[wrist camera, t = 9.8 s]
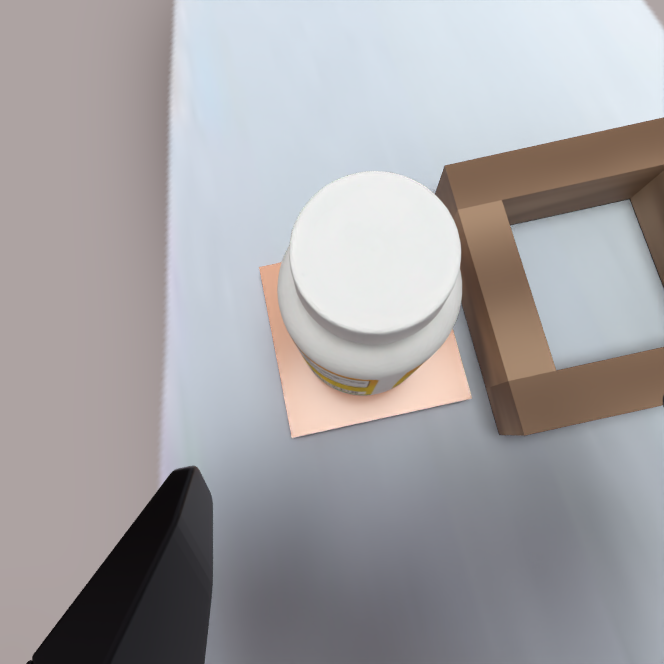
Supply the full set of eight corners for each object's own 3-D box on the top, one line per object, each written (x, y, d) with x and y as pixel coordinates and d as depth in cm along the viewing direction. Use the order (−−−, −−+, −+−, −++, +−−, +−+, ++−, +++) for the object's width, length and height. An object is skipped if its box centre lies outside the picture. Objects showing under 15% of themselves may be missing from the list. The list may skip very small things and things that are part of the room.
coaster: (467, 399, 20) (472, 398, 19) (294, 437, 20) (291, 437, 19) (423, 238, 22) (425, 230, 21) (262, 273, 22) (259, 267, 21)
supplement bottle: (316, 410, 20) (283, 392, 10) (288, 290, 21) (234, 174, 11) (442, 378, 20) (524, 332, 10) (407, 260, 21) (452, 120, 11)
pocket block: (745, 380, 20) (813, 372, 17) (499, 434, 20) (524, 435, 17) (652, 152, 22) (698, 109, 19) (432, 200, 22) (444, 165, 19)
